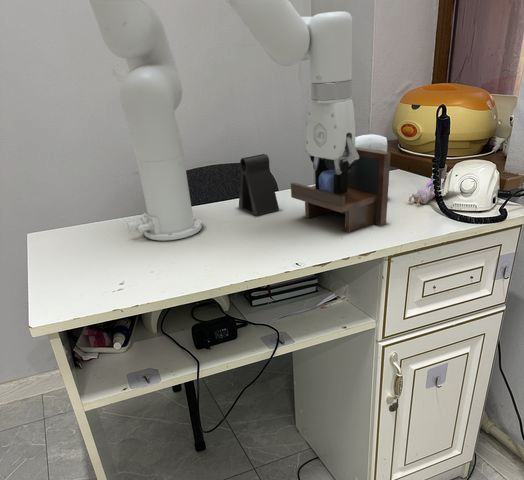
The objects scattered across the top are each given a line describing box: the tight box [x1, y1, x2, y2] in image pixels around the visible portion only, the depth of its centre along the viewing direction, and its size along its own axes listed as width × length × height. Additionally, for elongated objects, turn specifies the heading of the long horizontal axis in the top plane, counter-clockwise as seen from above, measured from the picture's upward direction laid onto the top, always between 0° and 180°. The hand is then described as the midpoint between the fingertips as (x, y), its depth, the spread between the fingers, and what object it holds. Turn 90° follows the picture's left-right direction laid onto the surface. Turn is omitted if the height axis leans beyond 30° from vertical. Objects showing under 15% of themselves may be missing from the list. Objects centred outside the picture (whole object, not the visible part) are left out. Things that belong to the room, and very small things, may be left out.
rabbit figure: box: [408, 174, 444, 207], centre depth 111 cm, size 6×6×15 cm
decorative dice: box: [319, 170, 336, 193], centre depth 100 cm, size 4×4×4 cm
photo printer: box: [355, 133, 388, 152], centre depth 122 cm, size 10×4×12 cm, turn 98°
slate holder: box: [290, 147, 391, 233], centre depth 101 cm, size 11×18×14 cm, turn 34°
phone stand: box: [238, 153, 280, 217], centre depth 113 cm, size 9×6×12 cm, turn 30°
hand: (331, 190), depth 100 cm, fingers closed on decorative dice, 5 cm apart
